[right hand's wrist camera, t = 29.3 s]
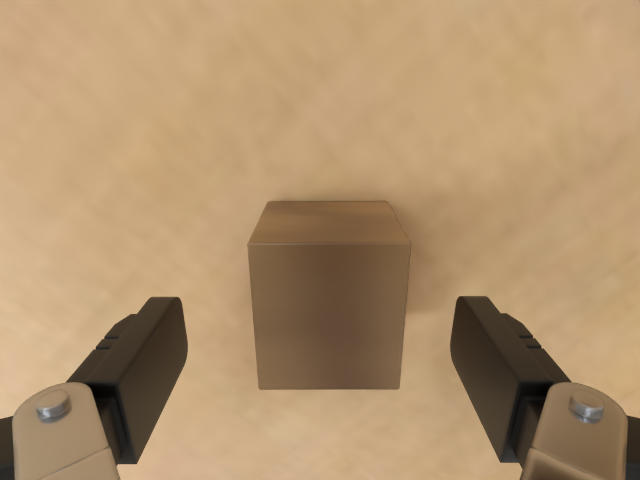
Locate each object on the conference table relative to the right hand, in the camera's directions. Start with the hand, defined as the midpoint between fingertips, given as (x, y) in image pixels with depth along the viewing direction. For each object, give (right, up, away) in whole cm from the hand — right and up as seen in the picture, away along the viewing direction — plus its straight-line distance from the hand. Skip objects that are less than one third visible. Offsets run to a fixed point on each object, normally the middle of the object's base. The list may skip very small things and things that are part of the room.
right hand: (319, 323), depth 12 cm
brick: (0, +2, +5) cm, 5 cm away
